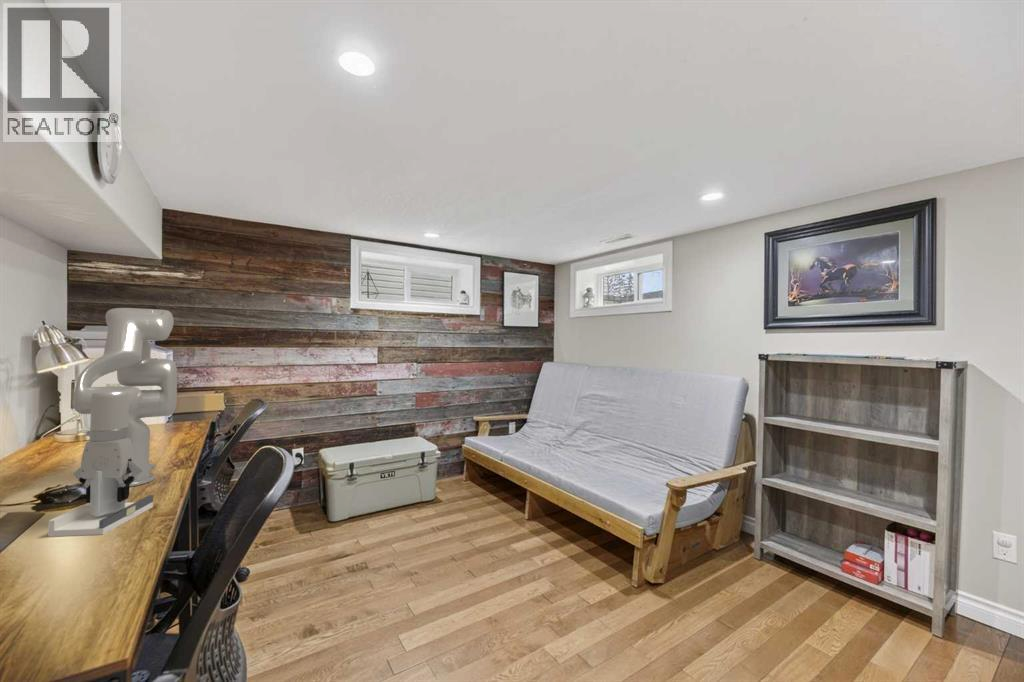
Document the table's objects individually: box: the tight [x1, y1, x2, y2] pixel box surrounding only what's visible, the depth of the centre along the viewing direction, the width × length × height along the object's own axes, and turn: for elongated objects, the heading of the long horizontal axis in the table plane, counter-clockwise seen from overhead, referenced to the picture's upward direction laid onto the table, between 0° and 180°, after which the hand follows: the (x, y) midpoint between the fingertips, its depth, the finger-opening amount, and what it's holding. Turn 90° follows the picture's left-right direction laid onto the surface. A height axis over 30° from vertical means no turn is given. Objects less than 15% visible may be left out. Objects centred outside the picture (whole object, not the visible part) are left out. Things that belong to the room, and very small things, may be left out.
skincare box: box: [90, 471, 126, 517], centre depth 114 cm, size 6×4×12 cm
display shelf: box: [47, 501, 154, 538], centre depth 114 cm, size 18×12×4 cm, turn 9°
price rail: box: [99, 494, 154, 529], centre depth 114 cm, size 18×1×2 cm, turn 9°
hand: (107, 500), depth 114 cm, fingers closed on skincare box, 6 cm apart
